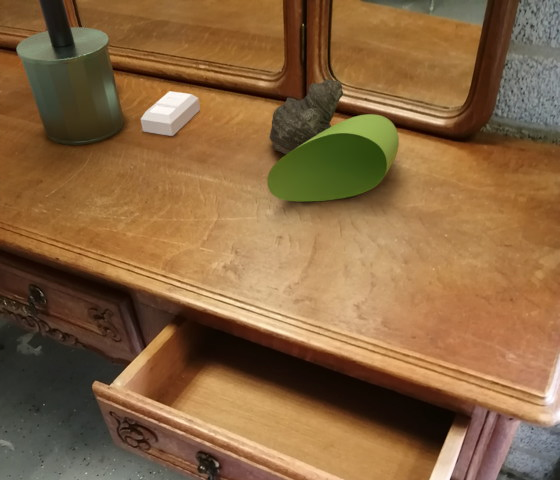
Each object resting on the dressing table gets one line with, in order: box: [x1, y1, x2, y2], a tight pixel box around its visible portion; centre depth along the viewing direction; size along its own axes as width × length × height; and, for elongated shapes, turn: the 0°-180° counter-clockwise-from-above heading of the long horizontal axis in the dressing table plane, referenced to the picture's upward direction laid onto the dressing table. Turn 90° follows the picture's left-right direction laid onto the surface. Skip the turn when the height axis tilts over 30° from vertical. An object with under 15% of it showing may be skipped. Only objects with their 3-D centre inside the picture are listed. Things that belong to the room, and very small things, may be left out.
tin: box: [20, 47, 125, 146], centre depth 85 cm, size 11×11×11 cm
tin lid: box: [16, 0, 110, 65], centre depth 78 cm, size 12×12×7 cm
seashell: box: [237, 78, 344, 155], centre depth 79 cm, size 11×12×10 cm
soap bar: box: [140, 90, 201, 137], centre depth 88 cm, size 5×9×3 cm, turn 159°
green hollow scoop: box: [267, 113, 400, 202], centre depth 74 cm, size 8×12×20 cm
